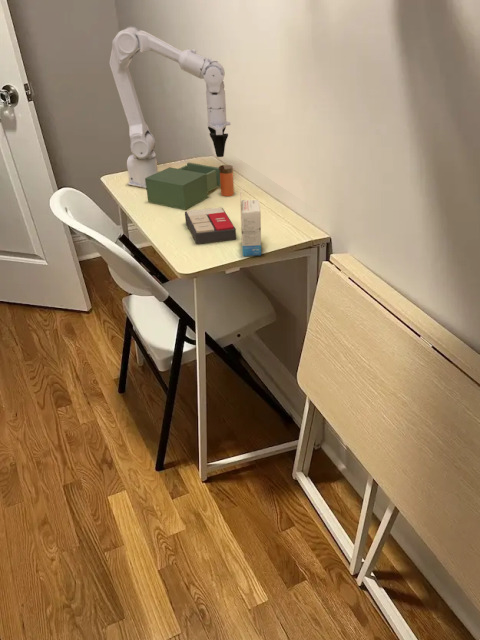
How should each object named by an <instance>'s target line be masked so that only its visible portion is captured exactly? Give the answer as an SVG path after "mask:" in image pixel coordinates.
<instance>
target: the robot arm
mask: <svg viewBox="0 0 480 640" xmlns="http://www.w3.org/2000/svg"><path fill="white" fill-rule="evenodd" d="M147 52H153V53H156V54H158V55H160V56H162V57H164V58H167V59H169V60H171V61H174V62H176V63H177V64H178V65H179V67H180V69H181V70H182V71H184V72H186V73H188V74H190V75H192V76H194V77H196V78H198V79H201V80H204V82H205V86H206V88H205V96H206V98H205V99H206V112H207V113H206V114H207V130H208V131H209V137H210V139H211V141H212V143H213V148H214V151H215V155H216V157H217V158H224V155H225V149H226V142H227V139H228V137H229V133H225V130H226V128H227V126H231V121H227V107H226V106H227V105H226V103H227V102H226V90H225V82H224V79H225V68H224V66H223V65H222V64H221V63H220V62H219V61H218V60H212V58H211V57H205V56H203V55H201V54H198V53H197V50H196V49H194V48H191V49H189V48H186V49H184V50H181V49H179V48H177V47H175V46H173V45H171V44H170V43H168V42H166V41H164V40H163V39H161V38H159V37H158V36H155V35H153V34H151V33H149V32H147V31H145V30H142V29H138V28H137V27H135V26H128V27H126V28H124V29H122V30H120V31H118V32H117V34H116V35H115V37H114V38H113V39H112V47H111V53H110V57H109V67H110V70H111V71H110V72H111V73H112V76H113V81H114V83H115V86H116V89H117V93H118V95H119V99H120V102H121V105H122V108H123V111H124V115H125V117H126V121H127V124H128V127H129V128H128V129H129V135H128V136H129V139H130V145H129V147H130V152H131V153H132V154H130V155H129V156H128V158H127V160H126V168H127V173H128V174H127V175H128V183H127V185H128V186H134V187H137V188H143V189H146V182H145V178H147V177H149V176H151V175H153V174H156V173H158V172H159V167H158V161H157V160H158V159H157V154H156V152H155V151H154V148H155V147H156V138H155V136H154V135H153V134H152V133H151V131H150V128H149V125H148V124H147V122H146V121H145V118H144V115H143V111H142V108H141V105H140V104H141V103H140V101H139V99H138V94H137V90H136V88H135V84H134V81H133V78H132V75H131V72H130V71H131V70H130V68H129V65H130V64H131V62H132V60H133V59H134V56H135V55H137V53H147Z"/></svg>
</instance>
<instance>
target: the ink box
mask: <svg viewBox="0 0 480 640" xmlns="http://www.w3.org/2000/svg"><path fill="white" fill-rule="evenodd" d="M239 200H240V204H239V205H240V206H239V207H240V233H241V249H242V257H261V256H262V219H261V218H262V217H261V216H262V215H261V204H260V203H261V202H260V200H259V199H242V189H241V188H239Z"/></svg>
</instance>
